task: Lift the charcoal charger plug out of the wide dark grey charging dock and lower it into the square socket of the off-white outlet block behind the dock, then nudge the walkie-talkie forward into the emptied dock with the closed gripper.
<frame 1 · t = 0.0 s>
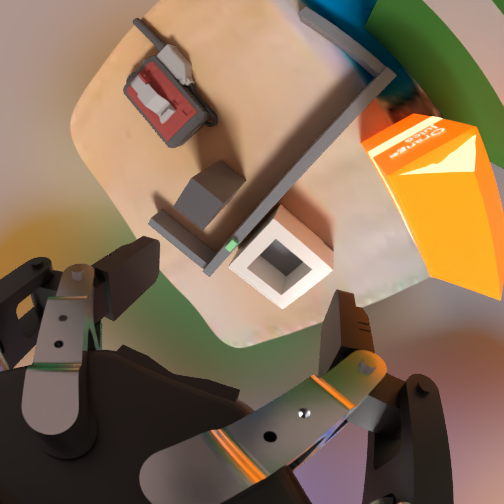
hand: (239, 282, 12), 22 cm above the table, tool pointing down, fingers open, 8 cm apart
hardback book: (439, 70, 20), on the table
walkie-talkie: (163, 79, 29), on the table
cradle: (259, 150, 31), on the table
plug: (224, 181, 34), on the table
orange juice: (405, 160, 27), on the table
outlet: (284, 249, 36), on the table
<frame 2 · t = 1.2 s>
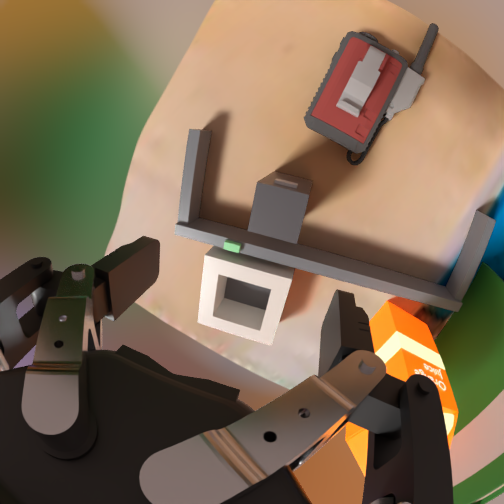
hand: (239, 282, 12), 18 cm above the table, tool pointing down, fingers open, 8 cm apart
hardback book: (465, 324, 28), on the table
walkie-talkie: (375, 75, 22), on the table
cradle: (342, 218, 28), on the table
plug: (289, 194, 28), on the table
orange juice: (387, 336, 32), on the table
outlet: (250, 283, 33), on the table
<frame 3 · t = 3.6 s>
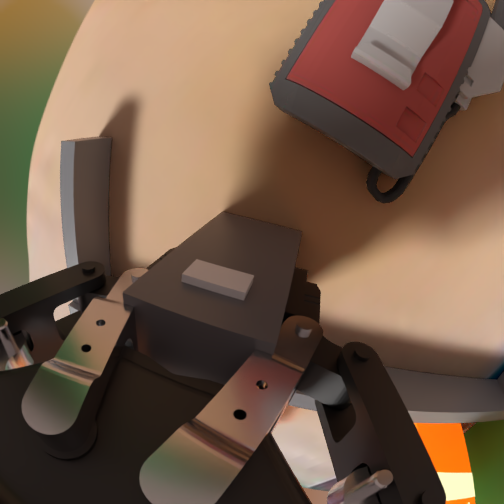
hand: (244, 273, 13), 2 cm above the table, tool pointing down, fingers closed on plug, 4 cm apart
walkie-talkie: (424, 23, 8), on the table
cradle: (359, 304, 14), on the table
plug: (254, 258, 14), on the table, touching gripper
orange juice: (404, 438, 18), on the table
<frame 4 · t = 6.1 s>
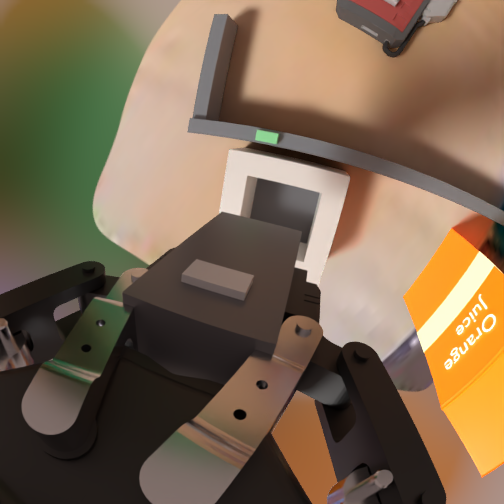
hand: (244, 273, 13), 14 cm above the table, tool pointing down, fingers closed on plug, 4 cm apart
cradle: (396, 118, 19), on the table
plug: (254, 257, 14), point 12 cm above the table, touching gripper
orange juice: (449, 279, 23), on the table
outlet: (284, 206, 25), on the table
when the fingers open (5 cm above the table, at t = 7.7 s): plug drops 2 cm, resting on outlet.
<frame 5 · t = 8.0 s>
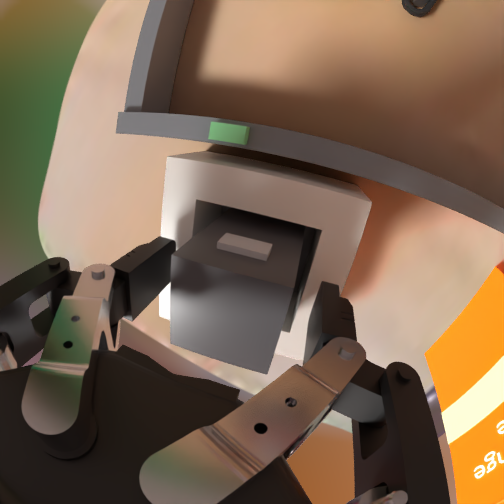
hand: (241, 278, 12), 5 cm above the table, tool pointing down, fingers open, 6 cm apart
cradle: (434, 107, 11), on the table
plug: (265, 240, 16), resting on outlet
orange juice: (483, 328, 16), on the table
outlet: (264, 238, 17), on the table
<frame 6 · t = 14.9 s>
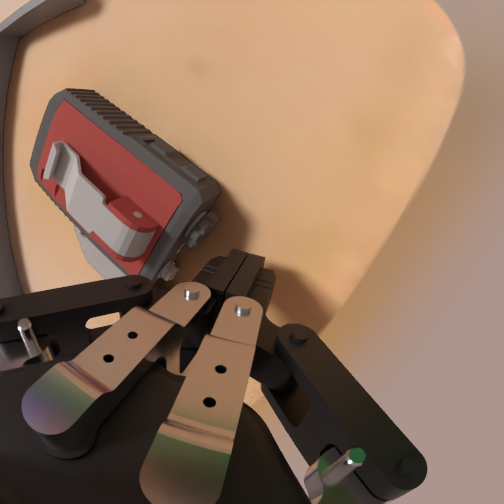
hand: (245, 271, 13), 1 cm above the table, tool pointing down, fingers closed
walkie-talkie: (155, 217, 15), on the table
cradle: (20, 196, 17), on the table
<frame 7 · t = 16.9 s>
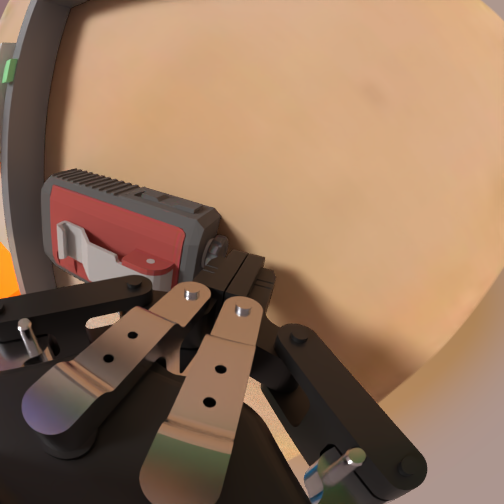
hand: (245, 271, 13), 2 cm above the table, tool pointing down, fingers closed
walkie-talkie: (174, 261, 16), on the table
cradle: (75, 208, 16), on the table
orange juice: (18, 282, 23), on the table
outlet: (12, 104, 14), on the table
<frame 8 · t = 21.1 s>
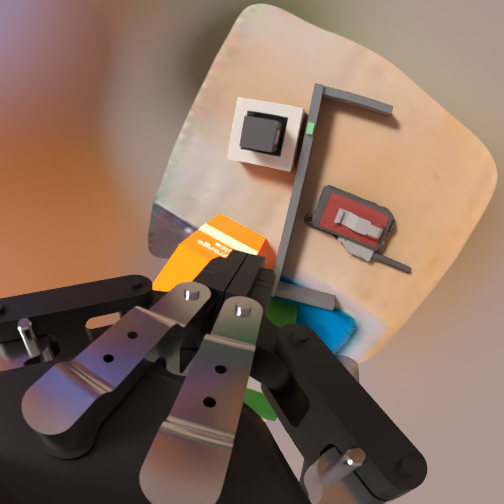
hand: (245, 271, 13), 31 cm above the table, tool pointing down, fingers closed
hardback book: (247, 305, 52), on the table
walkie-talkie: (366, 227, 41), on the table
cradle: (326, 200, 41), on the table
plug: (269, 135, 39), resting on outlet
orange juice: (233, 243, 47), on the table
outlet: (269, 134, 39), on the table
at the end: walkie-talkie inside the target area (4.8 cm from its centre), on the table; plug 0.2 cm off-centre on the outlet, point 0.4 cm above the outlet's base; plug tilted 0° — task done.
